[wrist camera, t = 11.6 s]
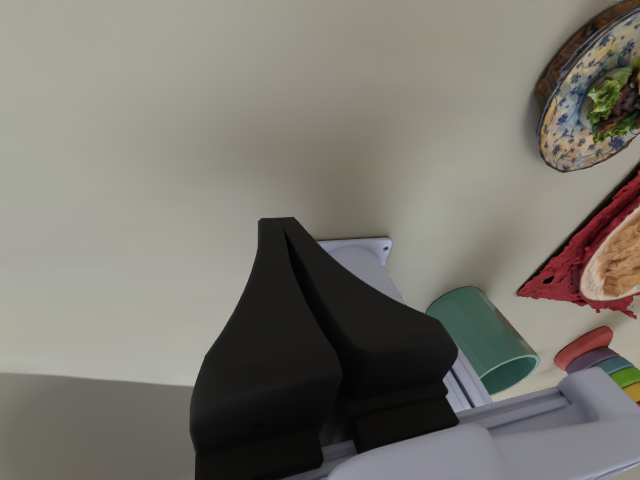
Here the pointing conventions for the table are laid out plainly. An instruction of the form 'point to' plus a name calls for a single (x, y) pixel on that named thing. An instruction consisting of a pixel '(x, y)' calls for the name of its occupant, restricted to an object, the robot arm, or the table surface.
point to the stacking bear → (600, 360)
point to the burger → (592, 93)
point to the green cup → (485, 338)
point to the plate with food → (598, 259)
